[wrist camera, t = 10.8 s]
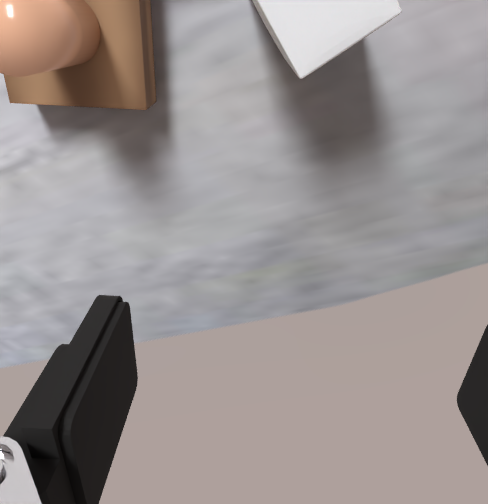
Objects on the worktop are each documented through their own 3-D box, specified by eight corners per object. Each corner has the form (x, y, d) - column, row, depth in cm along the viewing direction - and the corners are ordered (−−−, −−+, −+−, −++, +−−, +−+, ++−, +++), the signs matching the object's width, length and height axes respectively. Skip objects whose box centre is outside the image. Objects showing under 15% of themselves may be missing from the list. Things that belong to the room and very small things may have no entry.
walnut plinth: (147, -53, 34) (134, -60, 31) (156, 101, 40) (146, 109, 37) (1, -60, 34) (-29, -68, 31) (31, 95, 40) (10, 102, 37)
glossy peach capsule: (95, -8, 32) (39, -18, 24) (104, 65, 35) (57, 78, 27) (29, -10, 32) (-48, -20, 25) (43, 63, 35) (-22, 75, 27)
